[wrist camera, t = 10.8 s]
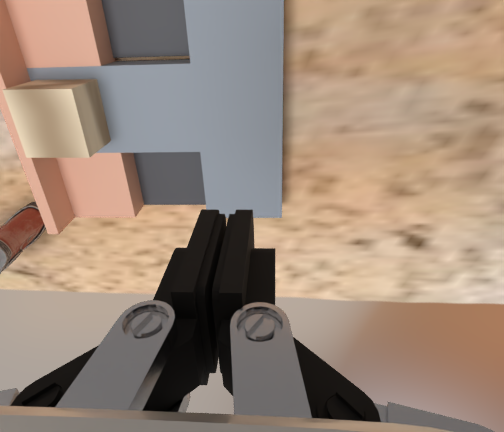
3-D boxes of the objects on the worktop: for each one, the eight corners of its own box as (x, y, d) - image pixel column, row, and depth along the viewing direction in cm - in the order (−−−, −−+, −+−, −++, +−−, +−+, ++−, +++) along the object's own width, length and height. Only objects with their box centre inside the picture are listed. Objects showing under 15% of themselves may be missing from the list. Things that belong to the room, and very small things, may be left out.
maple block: (96, 78, 28) (71, 88, 25) (110, 140, 30) (89, 157, 27) (35, 79, 28) (2, 89, 25) (54, 140, 31) (26, 157, 27)
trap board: (283, -42, 26) (285, -54, 21) (281, 202, 36) (282, 235, 31) (8, -29, 27) (-55, -37, 22) (79, 202, 37) (48, 233, 32)
